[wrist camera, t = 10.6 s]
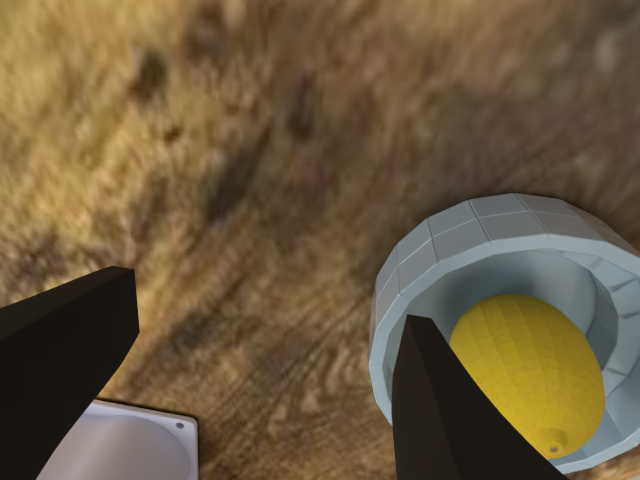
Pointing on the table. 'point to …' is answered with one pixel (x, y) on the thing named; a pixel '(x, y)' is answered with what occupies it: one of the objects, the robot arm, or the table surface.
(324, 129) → the table surface
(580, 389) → the lemon
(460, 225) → the bowl
